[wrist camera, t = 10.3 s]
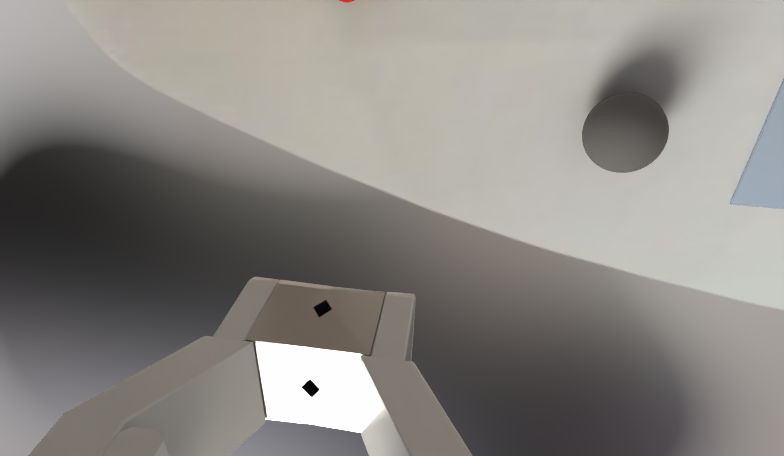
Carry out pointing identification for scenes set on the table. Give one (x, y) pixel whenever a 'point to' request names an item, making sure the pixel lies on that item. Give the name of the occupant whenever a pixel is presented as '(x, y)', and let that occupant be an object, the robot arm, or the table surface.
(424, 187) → the table surface
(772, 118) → the board
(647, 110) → the grey sphere
